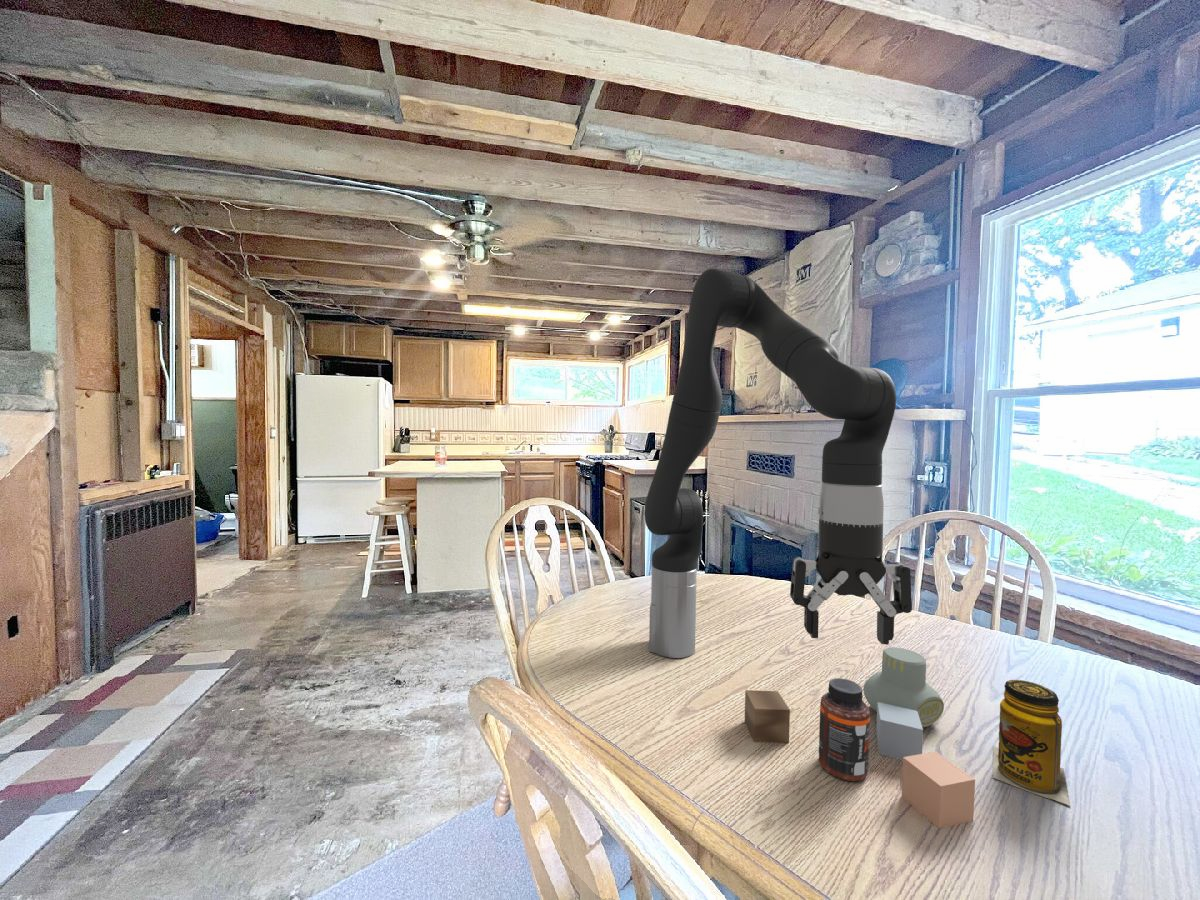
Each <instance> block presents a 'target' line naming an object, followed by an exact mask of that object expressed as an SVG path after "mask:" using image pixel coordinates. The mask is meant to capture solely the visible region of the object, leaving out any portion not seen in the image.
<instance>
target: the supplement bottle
mask: <svg viewBox="0 0 1200 900" xmlns="http://www.w3.org/2000/svg"><path fill="white" fill-rule="evenodd" d="M827 690H828V691H827V692H826V693H824V694H823V695H822V697H821V698H820V701H819V702H820V705H819V708H820V709H819V731H818V734H819V737H818V761H819V763H820V766H821V767H822V768H823V769H824V770H825V771H826V772H828V774H830V775H831V776H834V777H836V778H838V779H841V780H845V781H849V782H860V781H862V780H865V778H867V776H868V773H869V759H870V758H869V757H870V734H871V733H870V730H871V729H870V727H871V711H870V708H869V706H868V705H867V704H866V703H865V701H863V699H864V697H863V688H862V686H861V685H860V684H858V683H857V682H855V681H852V680H850V679H846V678H838V677H837V678H831V679H830V680H829V681H828V689H827Z"/></svg>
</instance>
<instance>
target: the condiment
mask: <svg viewBox="0 0 1200 900" xmlns="http://www.w3.org/2000/svg"><path fill="white" fill-rule="evenodd" d="M1003 697H1004V698H1003V699H1002V700H1001V701H1000V703H999V724H998V747H997V746H993V749H992V750H993V752H992V753H993V755H992V757H993V758H992V779H995V780H999V781H1000V782H1003V783H1005V784H1008V785H1010V786H1013V787H1016V788H1018V789H1021V790H1023V791H1025V792H1029V793H1032V794H1035V795H1038V796H1041V797H1043V798H1044V799H1046V798H1047V799H1049V800H1053V801H1056V802H1058V803H1061V804H1064V805H1067V806H1070V807H1071V801H1070V798H1069V792H1068V791H1069V790H1068V785H1067V780H1066V779H1067V778H1066V773H1065V769H1064V768H1063V767H1061V756H1062V754H1061V753H1062V752H1061V751H1062V735H1063V734H1062V733H1063V730H1062V729H1063V721H1062V718H1061V716H1060V715H1059V710H1060V709H1059V702H1060V700H1059V697H1058V694H1057V693H1056V692H1054V691H1052V690H1051V689H1049V688H1048V687H1045V686H1044V685H1040V684H1038V683H1035V682H1031V681H1028V680H1022V679H1010V680H1007V681H1005V684H1004V691H1003Z"/></svg>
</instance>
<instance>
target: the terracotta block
mask: <svg viewBox="0 0 1200 900" xmlns="http://www.w3.org/2000/svg"><path fill="white" fill-rule="evenodd" d="M901 773H902V775H901V777H902V778H901V797H902V798H903V799H904V800H905V801H907V803H909V804H910V805H911V806H913V807H914V808H915V809H916V810H917V811H918V812H920V813H921V814H922V815H923V816H924V817H926V819H928V820H929V821H930V822H931V823H932V824H933V825H935V826H936V827H937V828H938V829H943V828H948V827H952V826H955V825H960V824H964V823H968V822H974V818H975V817H974V815H975V813H974V812H975V794H976V793H975V792H976V791H975V789H976V779H975V778H974V777H972V776H971V775H970V774H968V773H967V772H965V771H964V770H963V769H961V768H960V767H958V766H957V765H955V764H954V763H952V761H950V760H948V758H946V757H944V756H943V755H942V754H940V753H938V752H937V751H931V752H924V753H923V752H922V754H918V755H912V756H907V757H903V760H902V772H901Z"/></svg>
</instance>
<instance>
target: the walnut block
mask: <svg viewBox="0 0 1200 900" xmlns="http://www.w3.org/2000/svg"><path fill="white" fill-rule="evenodd" d="M744 696H745V697H744V723H745V726H746V727H747V730H748V732H749V735H750V736H751V738H752V740H753V742H754V743H768V744H769V743H772V744H773V743H774V744H775V743H776V744H777V743H779V744H790V722H791V721H790V720H791V718H790V717H791V710H790V709H791V708H789V706H788V704H787V703H786V701H785V700H784V698H783V697H782V695H781V694H780V692H779V691H777V690H750V689H749V690H748V689H746V690H745V695H744Z"/></svg>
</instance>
